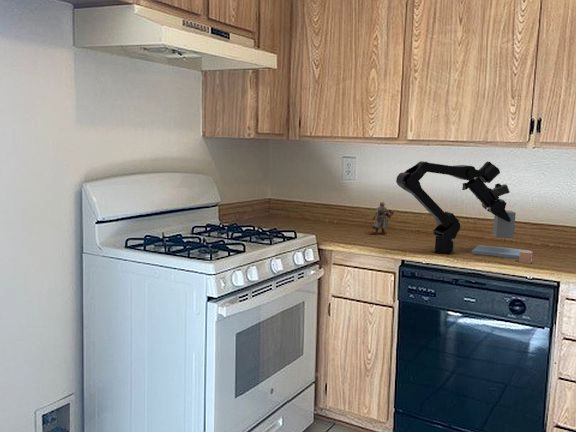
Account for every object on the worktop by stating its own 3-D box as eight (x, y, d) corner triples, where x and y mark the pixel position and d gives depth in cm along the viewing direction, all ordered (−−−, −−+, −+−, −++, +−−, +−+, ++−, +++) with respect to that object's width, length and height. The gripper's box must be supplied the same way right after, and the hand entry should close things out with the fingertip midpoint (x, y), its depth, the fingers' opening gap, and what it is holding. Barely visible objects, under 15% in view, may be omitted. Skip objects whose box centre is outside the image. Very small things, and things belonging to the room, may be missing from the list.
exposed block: (518, 262, 206) (519, 252, 205) (520, 260, 209) (521, 250, 209) (530, 264, 204) (531, 253, 203) (531, 262, 207) (532, 251, 207)
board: (472, 253, 220) (472, 250, 220) (478, 247, 232) (478, 244, 232) (526, 259, 211) (526, 256, 211) (530, 253, 223) (530, 250, 223)
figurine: (391, 232, 267) (392, 200, 265) (399, 234, 261) (401, 202, 258) (365, 233, 262) (366, 201, 260) (373, 235, 255) (374, 203, 253)
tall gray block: (496, 237, 218) (498, 211, 216) (492, 234, 224) (494, 209, 223) (513, 238, 217) (515, 212, 216) (509, 235, 223) (511, 210, 222)
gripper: (502, 178, 209) (531, 209, 209) (492, 175, 227) (518, 203, 227) (479, 198, 211) (507, 228, 211) (470, 194, 229) (496, 222, 229)
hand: (508, 220), depth 219 cm, fingers closed on tall gray block, 6 cm apart
